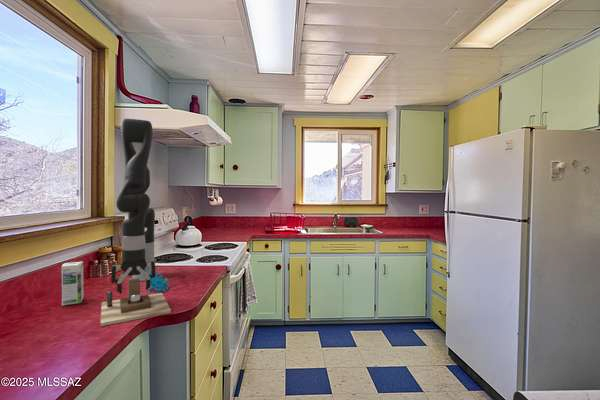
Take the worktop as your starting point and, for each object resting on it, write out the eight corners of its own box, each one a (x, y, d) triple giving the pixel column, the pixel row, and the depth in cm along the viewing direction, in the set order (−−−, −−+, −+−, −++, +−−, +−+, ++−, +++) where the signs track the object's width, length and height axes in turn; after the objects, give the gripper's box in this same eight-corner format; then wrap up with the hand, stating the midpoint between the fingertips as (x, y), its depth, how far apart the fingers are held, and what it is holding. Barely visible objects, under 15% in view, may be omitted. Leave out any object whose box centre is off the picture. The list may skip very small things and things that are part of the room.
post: (130, 305, 105) (130, 294, 105) (139, 303, 107) (139, 292, 107) (130, 308, 103) (130, 296, 102) (140, 306, 104) (140, 295, 104)
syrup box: (61, 306, 106) (60, 265, 106) (65, 300, 112) (64, 262, 111) (80, 303, 109) (80, 264, 109) (83, 298, 114) (83, 260, 114)
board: (101, 305, 108) (101, 302, 108) (162, 295, 119) (162, 292, 118) (100, 326, 91) (100, 323, 91) (170, 312, 102) (170, 309, 102)
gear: (156, 292, 117) (143, 272, 120) (146, 302, 118) (134, 282, 120) (175, 287, 128) (163, 269, 130) (166, 296, 128) (154, 278, 131)
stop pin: (106, 305, 104) (106, 291, 104) (112, 305, 105) (112, 291, 105) (106, 307, 103) (106, 293, 103) (112, 306, 104) (112, 292, 104)
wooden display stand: (151, 307, 103) (151, 286, 103) (121, 312, 99) (120, 290, 98) (146, 295, 115) (146, 276, 115) (119, 299, 111) (119, 279, 110)
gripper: (154, 244, 116) (154, 285, 117) (110, 247, 108) (111, 291, 109) (156, 247, 110) (156, 290, 110) (111, 251, 102) (111, 297, 103)
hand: (134, 291), depth 110 cm, fingers open, 8 cm apart
